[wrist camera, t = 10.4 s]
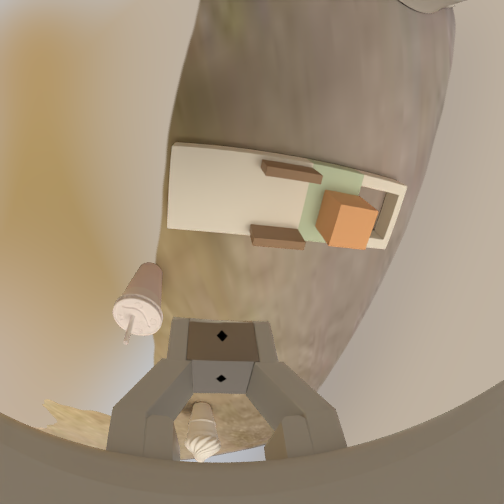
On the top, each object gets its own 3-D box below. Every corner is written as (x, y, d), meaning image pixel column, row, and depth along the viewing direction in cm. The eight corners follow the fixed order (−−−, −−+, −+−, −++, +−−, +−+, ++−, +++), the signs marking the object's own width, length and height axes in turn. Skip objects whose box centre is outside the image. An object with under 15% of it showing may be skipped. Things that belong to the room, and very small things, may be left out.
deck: (176, 142, 30) (166, 151, 24) (395, 179, 35) (422, 195, 30) (170, 218, 35) (162, 242, 29) (376, 239, 40) (396, 261, 34)
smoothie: (150, 246, 36) (125, 316, 24) (180, 276, 39) (169, 351, 28) (121, 269, 38) (92, 338, 26) (150, 296, 41) (133, 368, 29)
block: (325, 189, 32) (341, 204, 28) (359, 196, 33) (378, 211, 28) (315, 226, 34) (328, 245, 30) (348, 230, 35) (364, 249, 31)
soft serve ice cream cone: (211, 396, 57) (214, 457, 44) (223, 410, 62) (227, 465, 48) (179, 400, 58) (178, 459, 44) (193, 414, 62) (194, 467, 48)
